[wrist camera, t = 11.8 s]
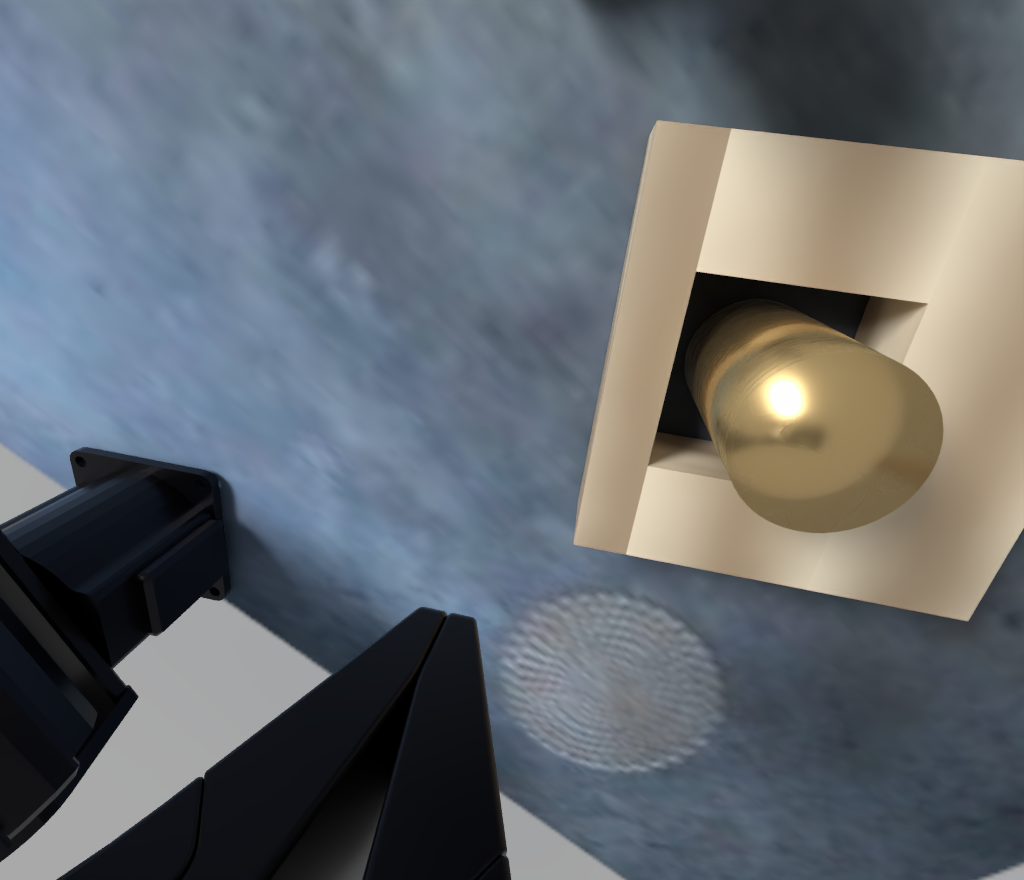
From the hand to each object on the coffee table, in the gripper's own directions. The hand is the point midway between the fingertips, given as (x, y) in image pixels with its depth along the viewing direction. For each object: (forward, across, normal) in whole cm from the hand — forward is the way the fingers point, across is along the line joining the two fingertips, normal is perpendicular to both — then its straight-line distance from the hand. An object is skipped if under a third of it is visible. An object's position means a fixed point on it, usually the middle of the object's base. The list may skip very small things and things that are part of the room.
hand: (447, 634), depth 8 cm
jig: (+12, -8, -2) cm, 15 cm away
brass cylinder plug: (+12, -6, -2) cm, 14 cm away
